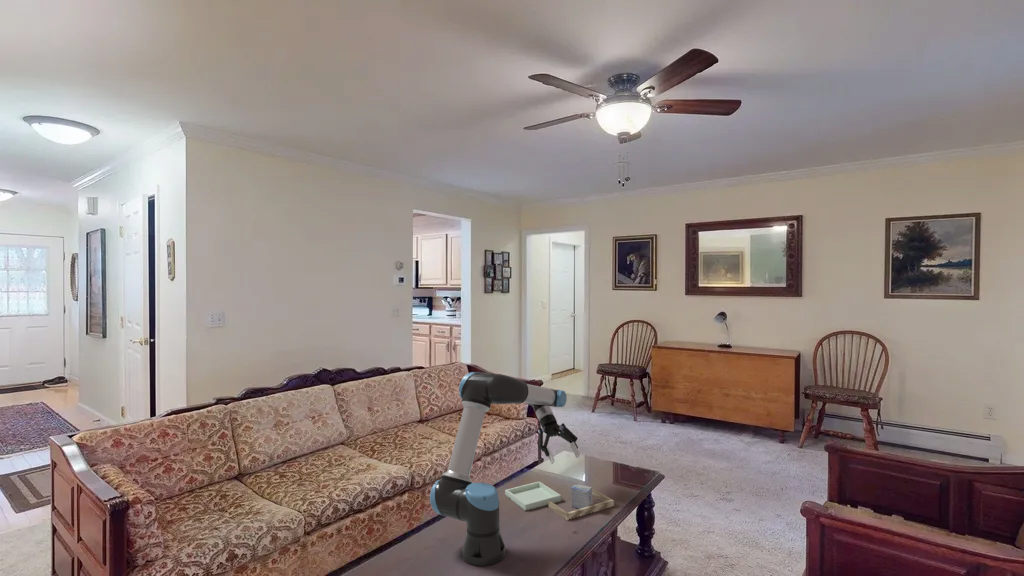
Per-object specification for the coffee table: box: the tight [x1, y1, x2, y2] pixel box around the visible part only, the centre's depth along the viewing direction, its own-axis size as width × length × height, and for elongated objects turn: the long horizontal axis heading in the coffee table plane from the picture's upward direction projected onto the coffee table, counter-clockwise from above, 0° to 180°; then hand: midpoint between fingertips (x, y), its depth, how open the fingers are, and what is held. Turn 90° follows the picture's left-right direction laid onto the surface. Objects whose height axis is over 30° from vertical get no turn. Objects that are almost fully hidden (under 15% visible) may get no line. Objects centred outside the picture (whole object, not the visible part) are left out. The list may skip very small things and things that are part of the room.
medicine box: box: [570, 483, 594, 510], centre depth 209 cm, size 8×4×9 cm, turn 58°
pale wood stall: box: [548, 488, 615, 521], centre depth 209 cm, size 24×14×2 cm, turn 119°
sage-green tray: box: [504, 481, 562, 512], centre depth 219 cm, size 18×18×2 cm
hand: (565, 459), depth 219 cm, fingers open, 13 cm apart
